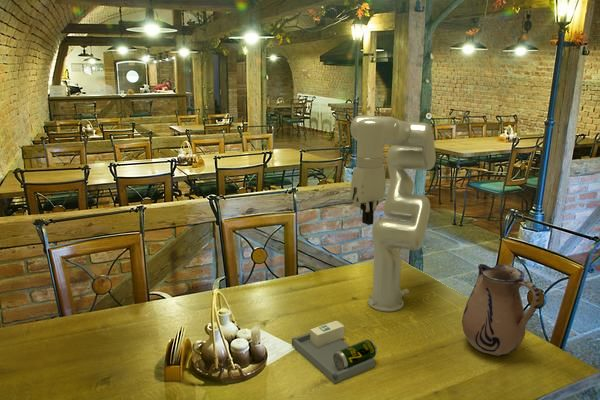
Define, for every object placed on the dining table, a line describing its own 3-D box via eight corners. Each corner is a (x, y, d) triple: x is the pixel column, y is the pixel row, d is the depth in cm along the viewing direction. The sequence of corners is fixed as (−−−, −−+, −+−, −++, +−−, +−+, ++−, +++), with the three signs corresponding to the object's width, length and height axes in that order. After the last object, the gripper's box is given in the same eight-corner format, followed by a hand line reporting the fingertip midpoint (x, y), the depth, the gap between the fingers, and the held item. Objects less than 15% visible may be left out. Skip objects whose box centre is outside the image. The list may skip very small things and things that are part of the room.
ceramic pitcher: (476, 326, 159) (483, 254, 153) (543, 351, 145) (555, 274, 138) (449, 347, 147) (456, 270, 141) (519, 377, 133) (530, 293, 126)
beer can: (373, 361, 141) (341, 375, 134) (363, 345, 144) (330, 359, 138) (380, 350, 138) (347, 364, 131) (369, 335, 141) (336, 348, 134)
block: (336, 319, 153) (310, 328, 148) (344, 325, 150) (317, 334, 145) (336, 331, 154) (310, 341, 149) (344, 337, 151) (317, 347, 146)
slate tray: (329, 332, 156) (329, 325, 155) (374, 366, 138) (374, 359, 137) (291, 345, 148) (291, 338, 148) (334, 383, 130) (334, 375, 130)
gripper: (380, 158, 147) (378, 216, 151) (341, 163, 139) (339, 224, 144) (398, 162, 141) (395, 222, 145) (357, 167, 133) (355, 231, 138)
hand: (367, 223), depth 145 cm, fingers closed
